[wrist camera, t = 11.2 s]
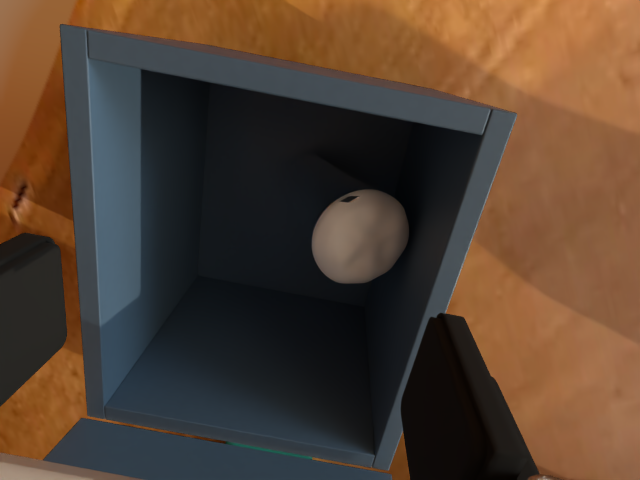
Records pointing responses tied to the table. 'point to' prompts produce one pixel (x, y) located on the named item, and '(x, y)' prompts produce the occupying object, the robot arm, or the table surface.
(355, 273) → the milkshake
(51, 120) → the table surface
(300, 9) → the table surface
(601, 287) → the table surface
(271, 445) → the case
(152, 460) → the case lid
